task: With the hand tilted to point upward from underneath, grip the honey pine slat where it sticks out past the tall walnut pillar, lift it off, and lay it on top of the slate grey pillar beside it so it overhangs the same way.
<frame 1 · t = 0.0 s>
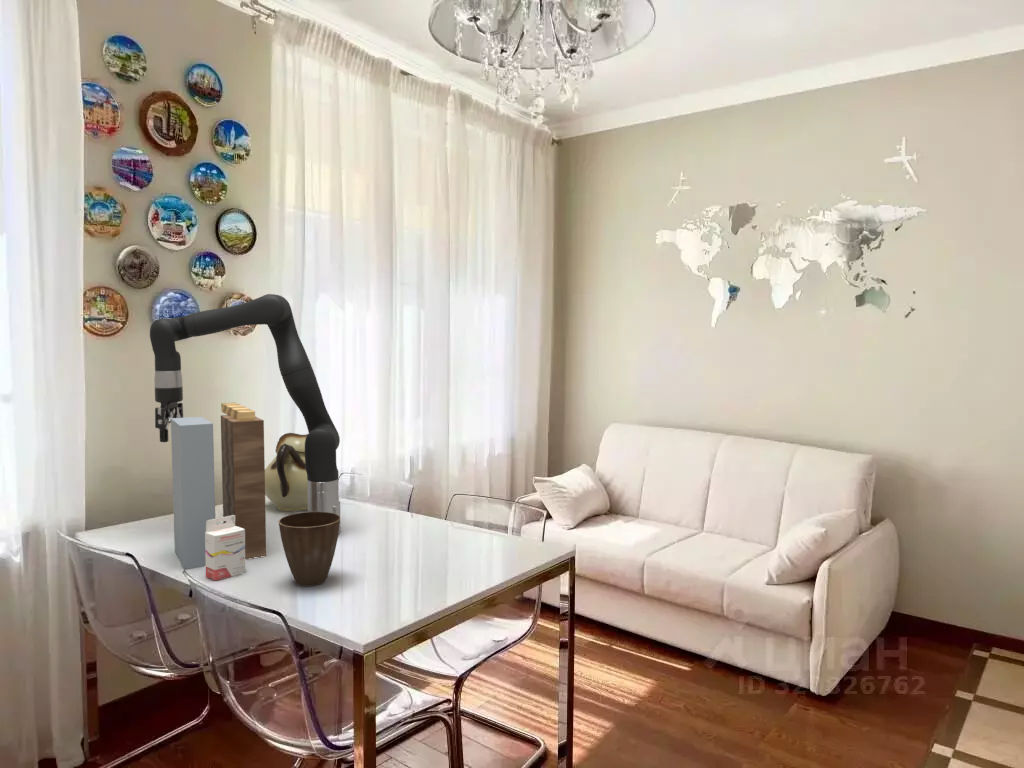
hand: (170, 439, 219), 29 cm above the table, tool pointing down, fingers open, 8 cm apart
walnut pillar: (244, 550, 208), on the table
slate grey pillar: (195, 558, 201), on the table
pine slat: (237, 415, 208), point 38 cm above the table, touching walnut pillar
plant pot: (310, 581, 184), on the table
pitcher: (296, 508, 256), on the table
ink cartridge box: (226, 575, 188), on the table
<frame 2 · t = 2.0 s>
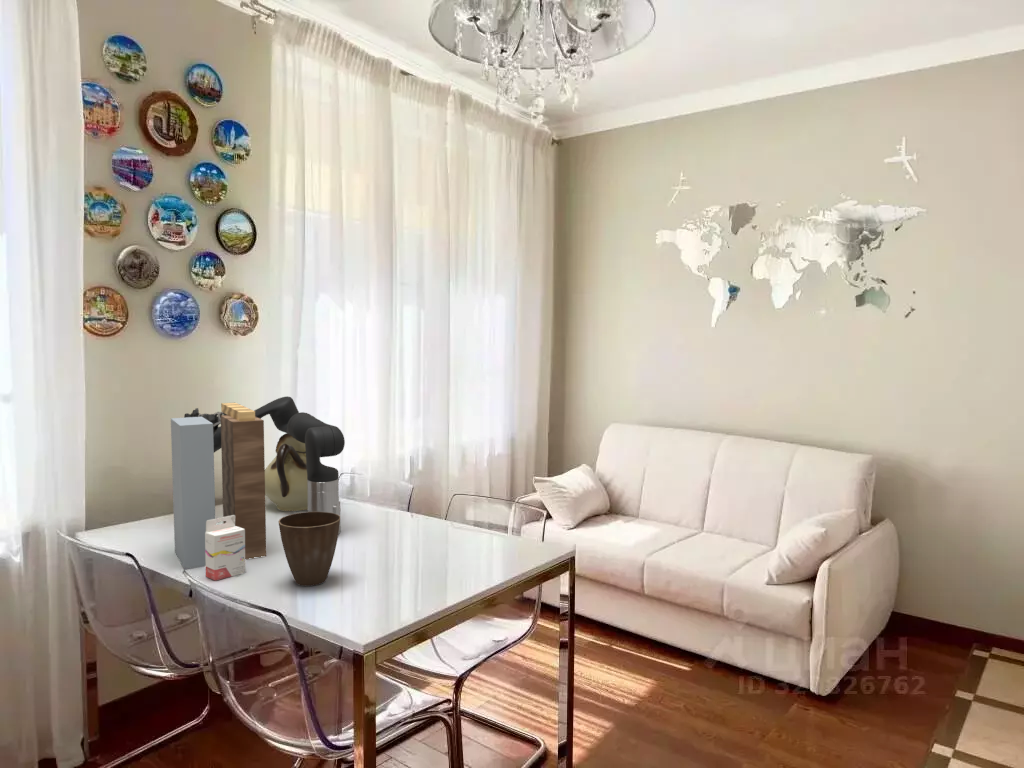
hand: (212, 410, 227), 37 cm above the table, tool pointing upward, fingers open, 8 cm apart
nothing on the table moved.
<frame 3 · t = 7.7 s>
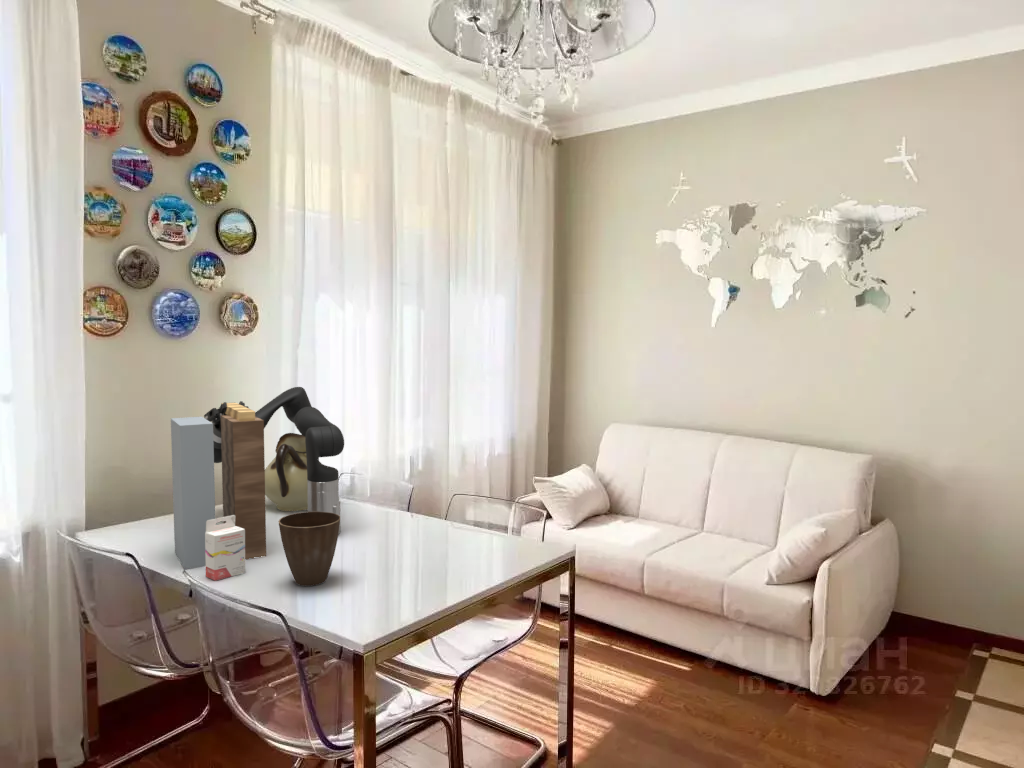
hand: (233, 404, 212), 41 cm above the table, tool pointing upward, fingers closed on pine slat, 4 cm apart
pine slat: (237, 415, 208), point 38 cm above the table, touching gripper, walnut pillar
everything else where it was.
when the fingers open (42 cm above the table, at t = 17.0 s): pine slat stays where it is, resting on slate grey pillar.
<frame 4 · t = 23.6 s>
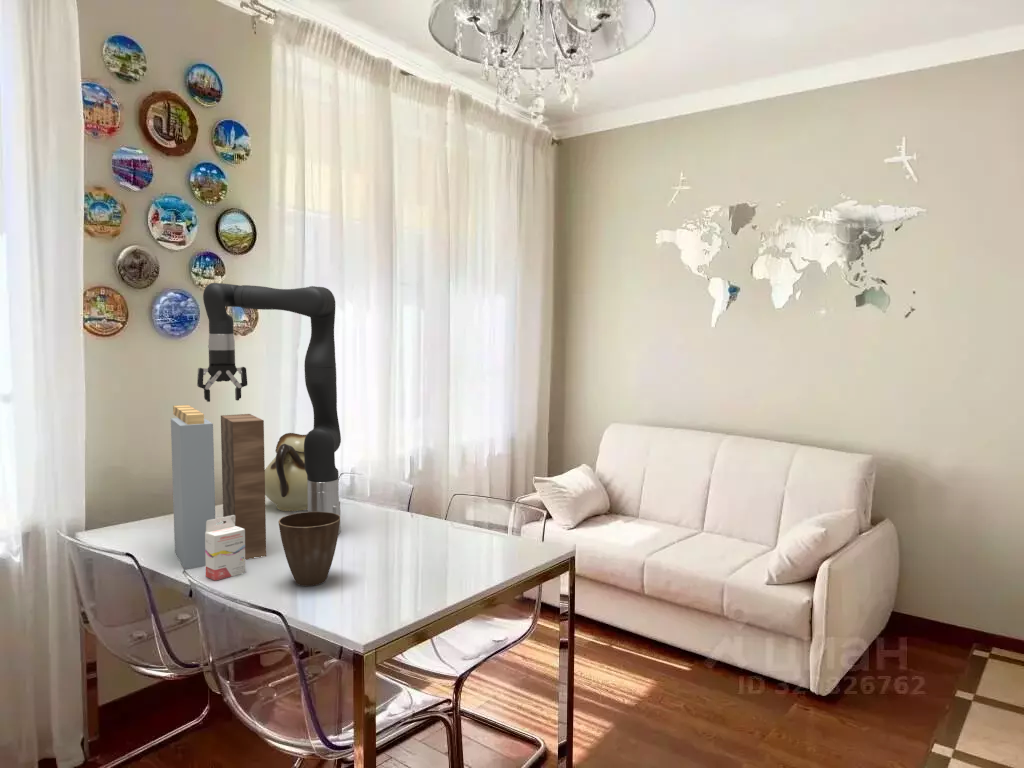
hand: (223, 400, 227), 40 cm above the table, tool pointing down, fingers open, 8 cm apart
pine slat: (188, 418, 201), point 38 cm above the table, touching slate grey pillar
everything else where it was.
at the end: pine slat inside the target area on the slate grey pillar (0.0 cm from its centre), point 38.0 cm above the slate grey pillar's base; pine slat touching slate grey pillar; the gripper is holding nothing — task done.
